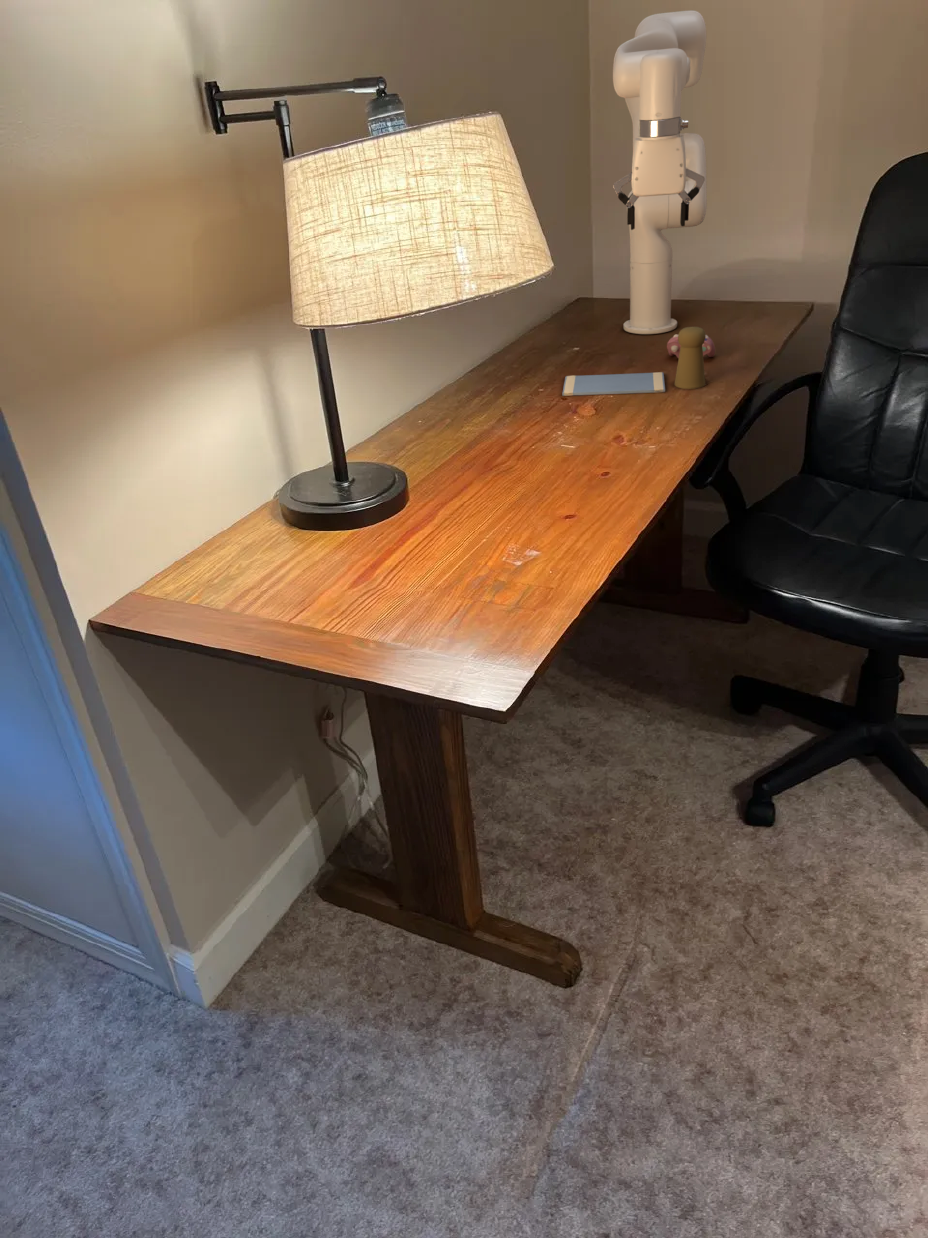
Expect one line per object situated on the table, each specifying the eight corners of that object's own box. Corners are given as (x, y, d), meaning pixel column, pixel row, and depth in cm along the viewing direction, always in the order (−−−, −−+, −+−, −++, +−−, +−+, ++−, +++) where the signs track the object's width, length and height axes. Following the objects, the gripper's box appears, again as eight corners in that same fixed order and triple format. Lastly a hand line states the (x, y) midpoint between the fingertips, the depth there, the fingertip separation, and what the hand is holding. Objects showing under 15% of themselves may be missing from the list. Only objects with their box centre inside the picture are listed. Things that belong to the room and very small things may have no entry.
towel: (565, 378, 195) (565, 375, 194) (663, 375, 191) (663, 371, 191) (562, 395, 185) (562, 392, 185) (665, 392, 182) (665, 388, 182)
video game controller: (666, 366, 201) (664, 341, 195) (670, 351, 203) (668, 326, 197) (713, 367, 197) (712, 342, 192) (716, 352, 199) (715, 326, 194)
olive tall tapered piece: (703, 378, 187) (706, 322, 181) (707, 387, 182) (710, 330, 176) (672, 380, 188) (674, 324, 182) (675, 389, 183) (677, 332, 177)
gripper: (705, 122, 176) (701, 220, 185) (612, 130, 179) (613, 225, 188) (708, 127, 169) (704, 227, 179) (612, 135, 172) (612, 233, 181)
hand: (657, 226), depth 183 cm, fingers open, 9 cm apart
